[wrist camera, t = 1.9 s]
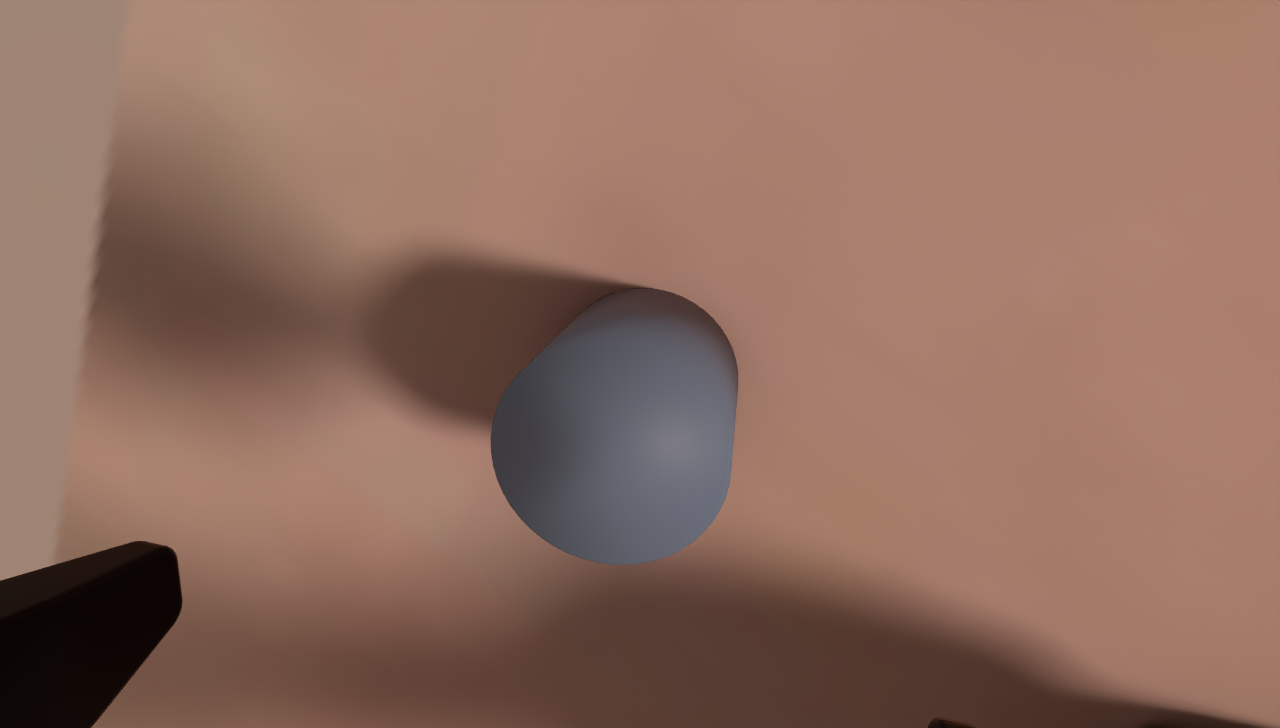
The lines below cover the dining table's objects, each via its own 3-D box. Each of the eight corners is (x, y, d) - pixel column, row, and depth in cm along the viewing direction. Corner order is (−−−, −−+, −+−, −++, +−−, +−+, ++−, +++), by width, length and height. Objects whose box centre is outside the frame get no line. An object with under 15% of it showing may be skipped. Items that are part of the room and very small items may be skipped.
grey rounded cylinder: (722, 476, 17) (710, 585, 13) (550, 444, 18) (485, 539, 14) (753, 304, 16) (751, 365, 12) (564, 274, 16) (497, 322, 12)
